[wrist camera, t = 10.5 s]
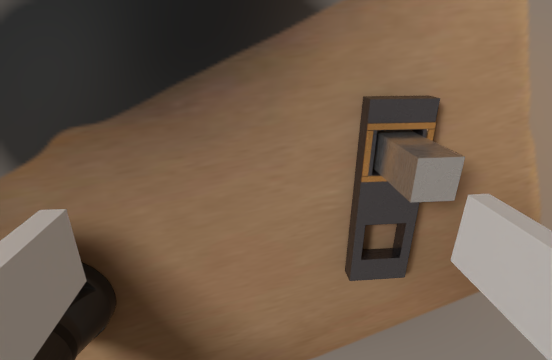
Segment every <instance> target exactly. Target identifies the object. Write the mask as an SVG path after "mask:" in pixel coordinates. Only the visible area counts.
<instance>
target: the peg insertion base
mask: <svg viewBox="0 0 552 360" xmlns="http://www.w3.org/2000/svg"><path fill="white" fill-rule="evenodd" d="M439 101H440V98H436V97H432V96H368V97H363V104H362V114H361V123H360V133H359V142H358V152H357V161H356V171H355V181H354V190H353V200H352V209H351V219H350V228H349V238H348V247H347V257H346V266H345V272H346V274H347V276H348V278H349V280H350V281H356V280H372V279H388V278H403V277H405V273H406V268H407V263H408V258H409V253H410V248H411V242H412V237H413V232H414V227H415V222H416V217H417V212H418V207H419V202H409V201H408V200H407V199H406V198H405V197H404V196H403V195H402V194H400V193H399V192H398V191H397V190H396V189H395V188H394V187H393V186H392V185H391V184H390V183H389V182H388V181H386V180H385V179H384V178H383V177H382V176H381V175H380V174H379V173H378V172H377V171H376V170H375V169H373V161H374V153H375V146H376V138H377V130H413V132H415V133H417V134H419V135H421V136H423V137H425V138H427V139H429V140H431V141H433V136H434V131H435V126H436V122H435V121H436V116H437V111H438V106H439ZM396 223H397V227H396V233H395V239H394V245H393V248H390V249H372V250H362V248H363V240H364V232H365V225H375V224H396Z"/></svg>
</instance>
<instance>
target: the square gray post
mask: <svg viewBox="0 0 552 360" xmlns="http://www.w3.org/2000/svg"><path fill="white" fill-rule="evenodd" d="M464 159H465V157H464V156H462V155H460V154H458V153H456V152H454V151H452V150H450V149H448V148H446V147H444V146H442V145H440V144H438V143H436V142H434V141H431V140H429V139H427V138H425V137H423V136H421V135H419V134H417V133H415V132H413V131H411V130H377V138H376V146H375V153H374V161H373V169H375V170H376V171H377V172H378V173H379V174H380V175H381V176H382V177H383V178H384V179H385V180H386V181H388V182H389V183H390V184H391V185H392V186H393V187H394V188H395V189H396V190H397V191H398V192H399V193H400V194H402V195H403V196H404V197H405V198H406V199H407V200H408V201H409V202H434V201H454V200H455V196H456V192H457V188H458V184H459V180H460V176H461V172H462V167H463V163H464Z"/></svg>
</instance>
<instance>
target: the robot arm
mask: <svg viewBox="0 0 552 360" xmlns="http://www.w3.org/2000/svg"><path fill="white" fill-rule="evenodd" d="M451 262H452V263H453V264H454V265H455V266H456V267H457V268H458V269H459V270H460V271H461V272H462V273H463V274H464V275H465V276H466V277H467V278H468V279H469V280H470V281H471V282H472V283H473V284H474V285H475V286H476V287H477V288H478V289H479V290H480V291H481V292H482V293H483V294H484V295H485V296H486V297H487V298H488V299H489V300H490V301H491V302H492V303H493V304H494V305H495V307H497V308H498V310H499V311H500V312H501V313H502V314H503V315H504V316H505V317H506V318H507V319H508V320H509V321H510V322H511V323H512V324H513V325H514V326H515V327H516V328H517V329H518V330H519V331H520V332H521V333H522V334H523V335H524V336H525V337H526V338H527V339H528V340H529V341H530V342H531V343H532V344H533V345H534V346H535V347H536V348H537V349H538V350H539V351H540V352H541V353H542V354H543V356H545V358H547V360H552V231H551V230H550V229H548V228H546V227H544V226H543V225H541V224H539V223H538V222H536V221H534V220H533V219H531V218H529V217H527V216H526V215H524V214H522V213H521V212H519V211H517V210H516V209H514V208H512V207H510V206H509V205H507V204H505V203H504V202H502V201H500V200H498V199H497V198H495V197H493V196H492V195H490V194H474V195H468V198H467V201H466V205H465V209H464V212H463V216H462V220H461V224H460V227H459V231H458V235H457V239H456V242H455V246H454V250H453V253H452V257H451ZM115 306H116V298H115V294H114V291H113V288H112V286H111V285H110V283H109V282H108V281H107V280H106V278H105V277H104V276H103V275H101V274H100V273H99V272H98V271H96V270H95V269H93V268H92V267H90V266H88V265H86V264H83V263H81V259H80V256H79V252H78V249H77V245H76V242H75V238H74V235H73V231H72V228H71V224H70V221H69V217H68V214H67V210H66V209H58V210H39V211H38V212H37V213H36V214H34V215H33V216H32V217H30V218H29V219H28V220H27V221H25V222H24V223H23V224H21V225H20V226H19V227H18V228H16V229H15V230H14V231H12V232H11V233H10V234H9V235H7V236H6V237H5V238H4V239H2V240H1V241H0V360H75V358H76V357H77V355H78V354H79V353H80V352H81V351H82V350H83V349H84V348H85V347H86V346H87V345H88V344H89V343H90V342H91V341H92V340H93V339H94V338H95V337H96V336H97V335H99V334H100V333H101V332H102V331H103V330H104V328H105V327H106V326H107V324H108V322H109V320H110V318H111V316H112V314H113V312H114V310H115Z"/></svg>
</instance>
